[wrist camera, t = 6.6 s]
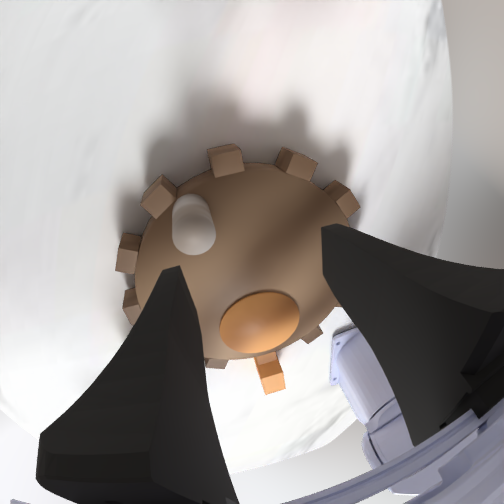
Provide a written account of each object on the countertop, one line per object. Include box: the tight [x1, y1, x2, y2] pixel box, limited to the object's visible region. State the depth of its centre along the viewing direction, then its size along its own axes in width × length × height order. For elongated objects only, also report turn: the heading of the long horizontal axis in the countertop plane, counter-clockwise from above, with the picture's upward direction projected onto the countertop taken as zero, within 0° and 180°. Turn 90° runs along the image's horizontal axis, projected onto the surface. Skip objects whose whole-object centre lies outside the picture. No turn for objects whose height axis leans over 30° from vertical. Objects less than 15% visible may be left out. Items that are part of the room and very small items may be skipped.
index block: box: [254, 356, 286, 395], centre depth 26 cm, size 3×2×3 cm, turn 9°
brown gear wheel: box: [115, 144, 360, 369], centre depth 19 cm, size 17×17×5 cm
